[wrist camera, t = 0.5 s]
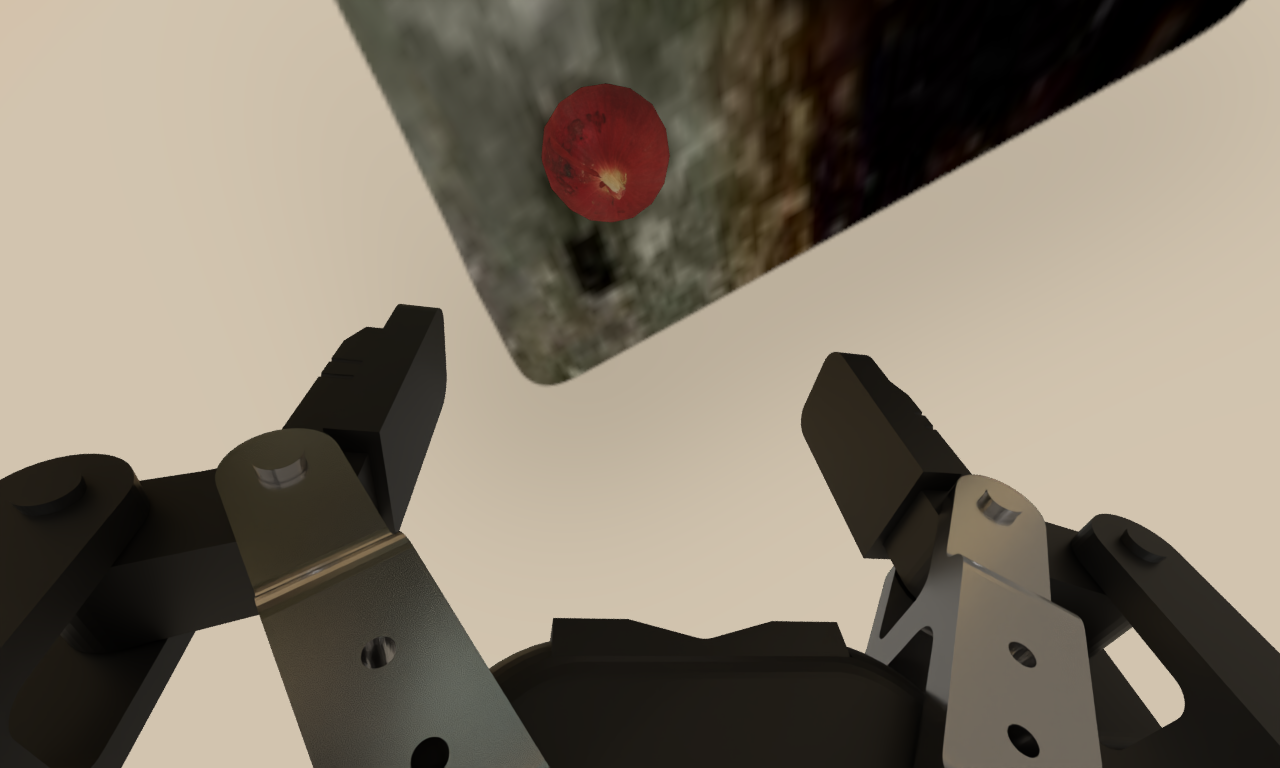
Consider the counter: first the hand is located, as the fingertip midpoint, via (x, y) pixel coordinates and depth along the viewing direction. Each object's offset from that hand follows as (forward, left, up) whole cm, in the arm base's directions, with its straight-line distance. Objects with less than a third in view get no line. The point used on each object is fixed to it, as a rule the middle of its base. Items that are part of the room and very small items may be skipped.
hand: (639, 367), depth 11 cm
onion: (0, 0, -21) cm, 21 cm away
